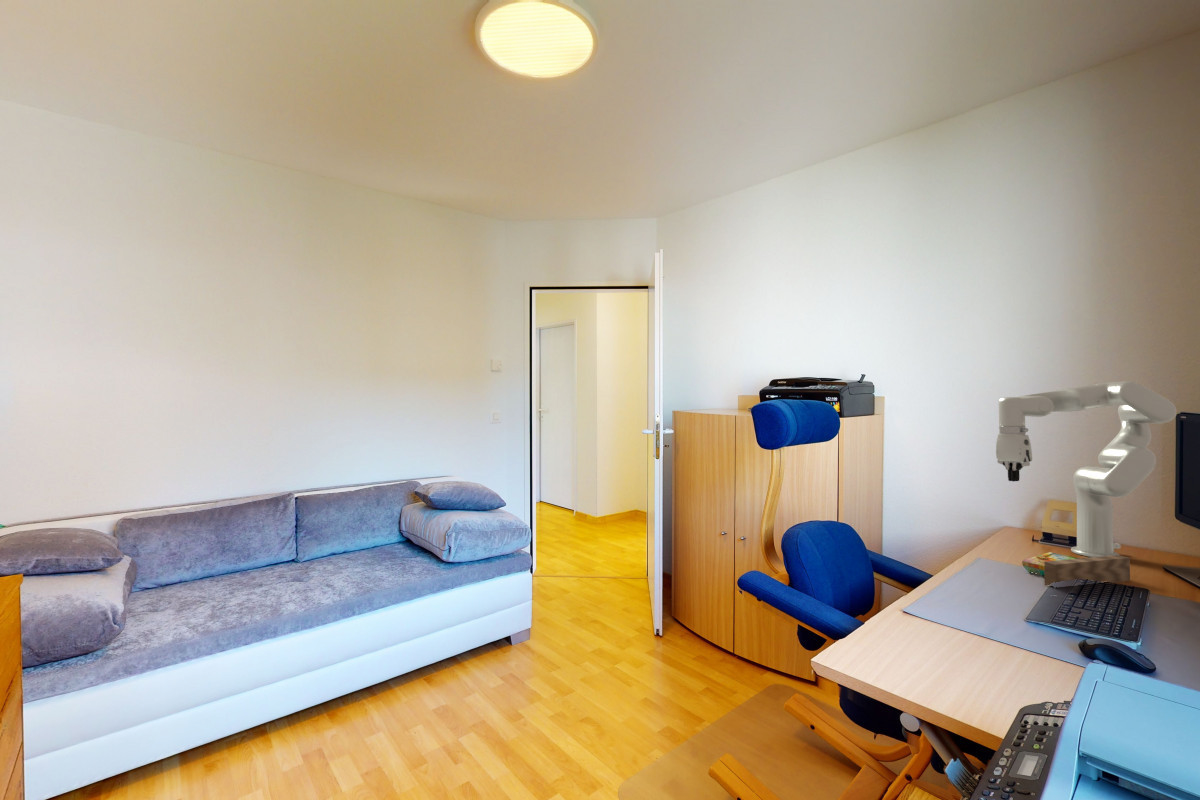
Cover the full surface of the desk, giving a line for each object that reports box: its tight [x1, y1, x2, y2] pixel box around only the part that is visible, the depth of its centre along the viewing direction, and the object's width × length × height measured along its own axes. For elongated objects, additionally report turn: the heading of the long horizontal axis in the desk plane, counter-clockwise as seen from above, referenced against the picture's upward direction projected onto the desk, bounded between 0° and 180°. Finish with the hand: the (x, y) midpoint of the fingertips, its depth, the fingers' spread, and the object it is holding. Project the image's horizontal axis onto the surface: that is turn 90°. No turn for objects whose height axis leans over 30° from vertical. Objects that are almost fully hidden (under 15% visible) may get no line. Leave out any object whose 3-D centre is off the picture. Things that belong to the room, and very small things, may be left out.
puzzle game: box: [1021, 551, 1080, 576], centre depth 169 cm, size 12×5×20 cm
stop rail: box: [1043, 554, 1131, 586], centre depth 159 cm, size 30×3×7 cm, turn 104°
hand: (1013, 480), depth 191 cm, fingers closed
